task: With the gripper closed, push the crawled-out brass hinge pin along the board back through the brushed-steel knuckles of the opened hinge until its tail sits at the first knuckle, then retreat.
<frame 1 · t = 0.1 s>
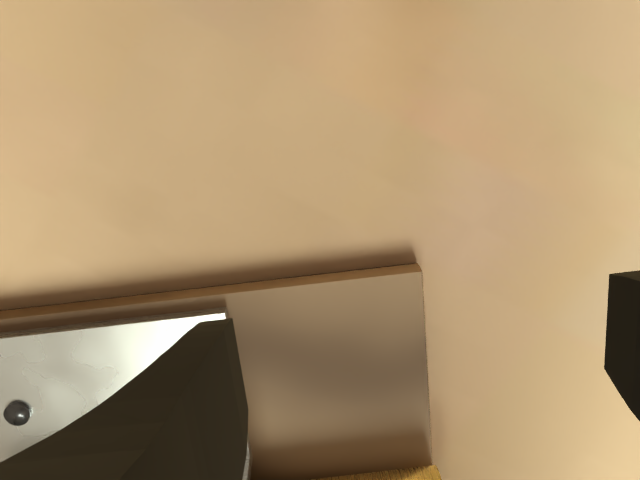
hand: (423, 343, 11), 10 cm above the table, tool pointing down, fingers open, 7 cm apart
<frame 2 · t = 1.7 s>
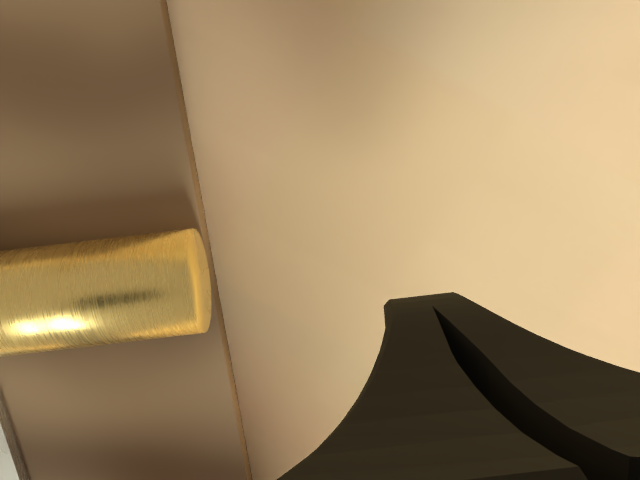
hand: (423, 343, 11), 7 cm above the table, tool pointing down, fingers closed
pin: (14, 302, 16), point 2 cm above the table, slide at 0.0 cm
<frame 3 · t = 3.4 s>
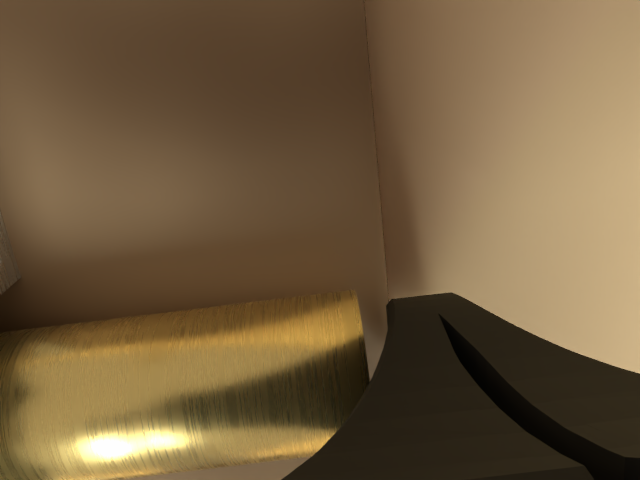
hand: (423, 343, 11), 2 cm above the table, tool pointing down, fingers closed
pin: (88, 400, 11), point 2 cm above the table, slide at 0.7 cm, touching gripper
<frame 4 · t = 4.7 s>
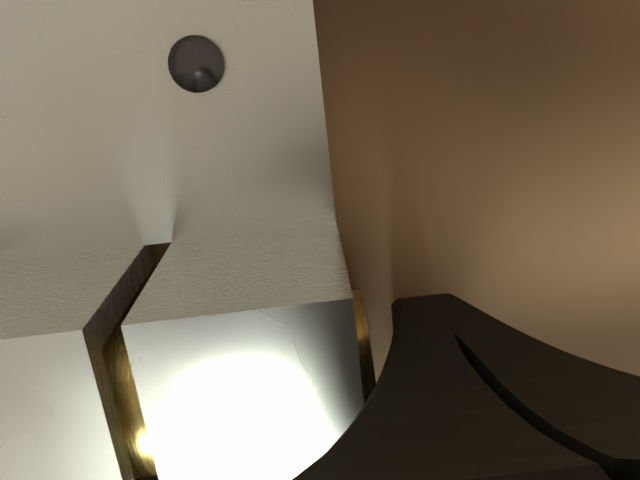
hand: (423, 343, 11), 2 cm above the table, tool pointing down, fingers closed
hinge leaves: (102, 361, 12), resting on board
pin: (93, 399, 11), point 2 cm above the table, slide at 6.7 cm, touching gripper
board: (252, 325, 13), on the table
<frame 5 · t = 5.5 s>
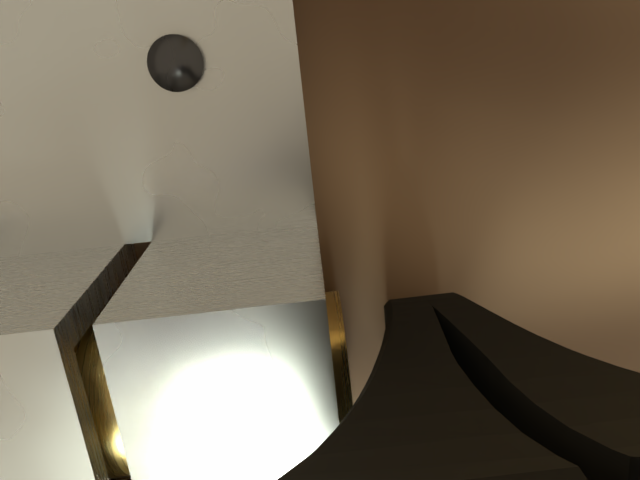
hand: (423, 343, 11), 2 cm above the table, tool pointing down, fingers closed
hinge leaves: (83, 360, 12), resting on board
pin: (70, 398, 11), point 2 cm above the table, slide at 6.8 cm
board: (234, 325, 13), on the table
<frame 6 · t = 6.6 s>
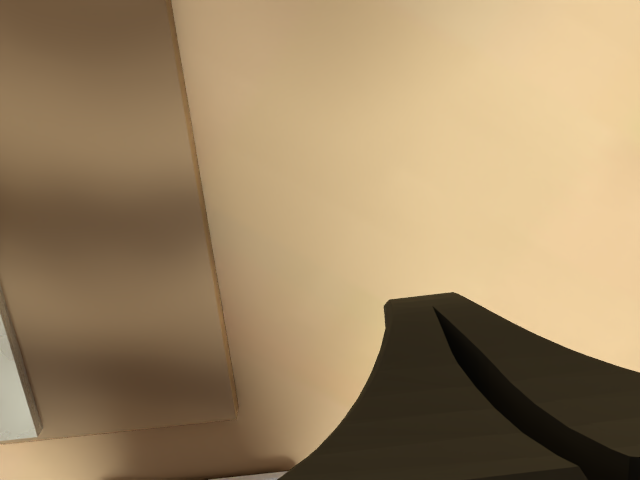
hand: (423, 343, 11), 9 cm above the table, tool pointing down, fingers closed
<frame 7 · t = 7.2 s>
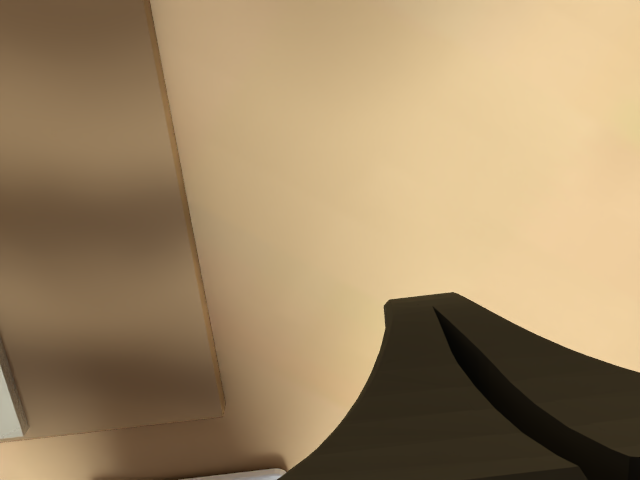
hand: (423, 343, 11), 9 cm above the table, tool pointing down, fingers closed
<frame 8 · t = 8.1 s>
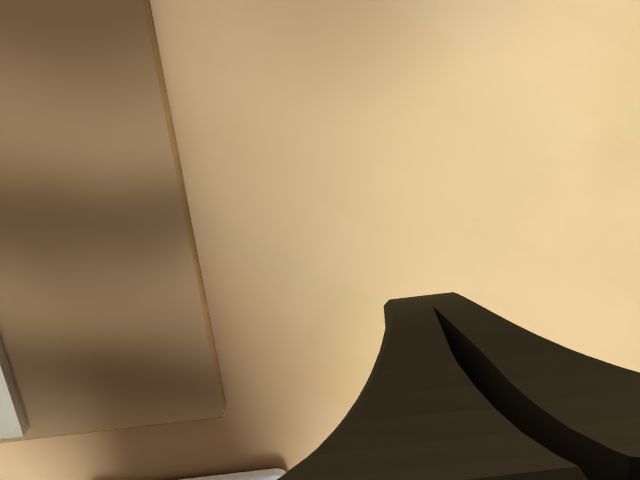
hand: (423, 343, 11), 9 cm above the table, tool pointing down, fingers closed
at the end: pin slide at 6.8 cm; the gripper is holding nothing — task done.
